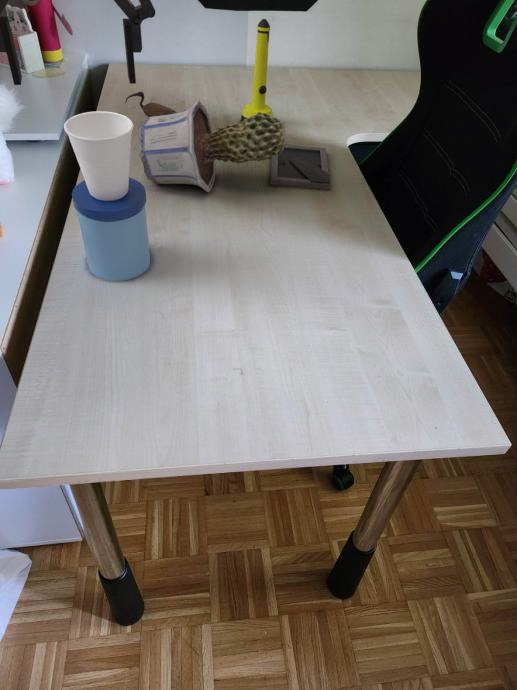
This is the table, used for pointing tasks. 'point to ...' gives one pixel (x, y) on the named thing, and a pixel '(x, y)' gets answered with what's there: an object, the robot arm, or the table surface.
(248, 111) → the flashlight
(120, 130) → the cup
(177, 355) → the table surface
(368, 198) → the table surface
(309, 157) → the picture frame
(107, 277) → the blue lidded canister
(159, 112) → the figurine
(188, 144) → the potted plant
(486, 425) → the table surface
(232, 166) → the table surface
